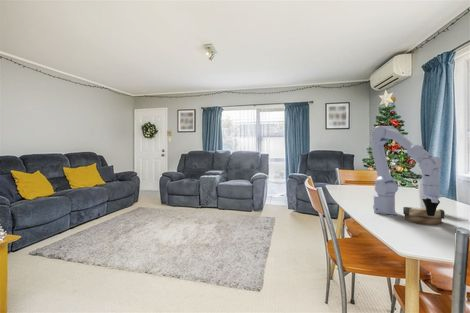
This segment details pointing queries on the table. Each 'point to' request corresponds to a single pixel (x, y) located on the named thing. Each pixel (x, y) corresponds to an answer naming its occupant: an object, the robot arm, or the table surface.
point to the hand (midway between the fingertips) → (430, 215)
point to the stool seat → (423, 220)
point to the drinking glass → (421, 195)
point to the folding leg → (423, 212)
